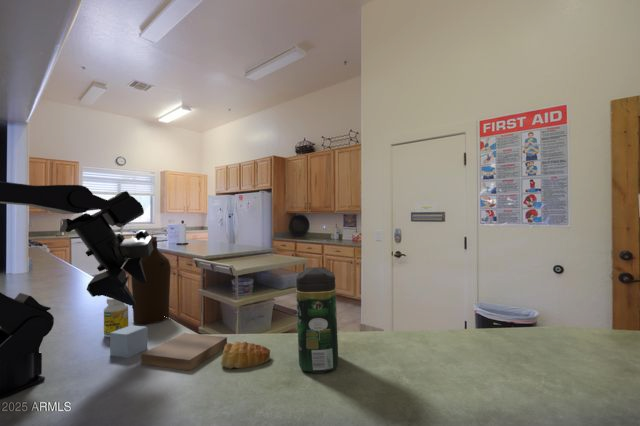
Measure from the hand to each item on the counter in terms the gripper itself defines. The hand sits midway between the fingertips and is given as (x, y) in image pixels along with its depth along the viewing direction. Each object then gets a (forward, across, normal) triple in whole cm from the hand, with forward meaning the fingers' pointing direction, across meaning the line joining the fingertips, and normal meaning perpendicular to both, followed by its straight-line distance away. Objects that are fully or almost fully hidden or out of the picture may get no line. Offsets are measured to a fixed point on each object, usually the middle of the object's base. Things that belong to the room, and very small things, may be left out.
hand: (139, 292), depth 72 cm
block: (+9, -8, +5) cm, 13 cm away
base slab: (+12, -14, -8) cm, 20 cm away
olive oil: (+17, +15, +10) cm, 25 cm away
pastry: (+14, -21, -20) cm, 32 cm away
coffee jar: (+17, -26, -34) cm, 46 cm away
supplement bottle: (+11, +5, +14) cm, 18 cm away
